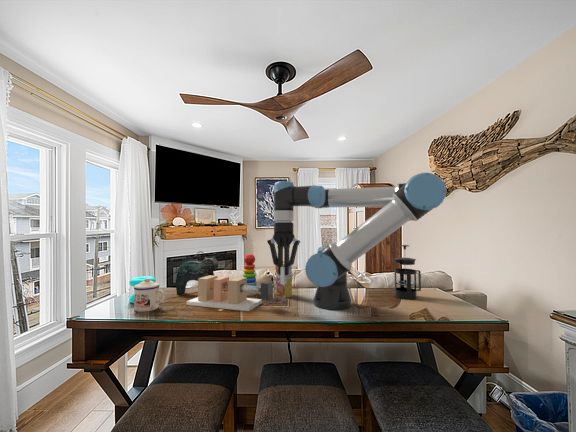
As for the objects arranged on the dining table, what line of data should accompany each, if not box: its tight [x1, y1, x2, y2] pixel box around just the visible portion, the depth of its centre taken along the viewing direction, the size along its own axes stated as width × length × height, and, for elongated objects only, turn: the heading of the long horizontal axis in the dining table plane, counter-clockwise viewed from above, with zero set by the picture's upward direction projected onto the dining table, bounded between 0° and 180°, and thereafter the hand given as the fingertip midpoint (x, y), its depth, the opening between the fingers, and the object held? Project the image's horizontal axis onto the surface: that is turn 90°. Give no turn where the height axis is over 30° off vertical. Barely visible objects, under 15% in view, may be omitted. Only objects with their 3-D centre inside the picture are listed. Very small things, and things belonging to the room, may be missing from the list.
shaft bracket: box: [186, 275, 263, 312], centre depth 120 cm, size 28×12×10 cm, turn 71°
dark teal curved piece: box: [175, 251, 219, 295], centre depth 138 cm, size 20×6×20 cm, turn 81°
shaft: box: [222, 280, 274, 300], centre depth 117 cm, size 21×5×6 cm, turn 71°
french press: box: [394, 244, 422, 301], centre depth 130 cm, size 12×9×23 cm
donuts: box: [128, 275, 156, 304], centre depth 126 cm, size 10×10×10 cm
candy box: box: [274, 260, 293, 299], centre depth 134 cm, size 9×4×15 cm, turn 29°
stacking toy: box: [242, 253, 259, 297], centre depth 137 cm, size 8×8×19 cm
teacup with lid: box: [133, 278, 166, 313], centre depth 114 cm, size 12×9×12 cm
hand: (283, 283), depth 112 cm, fingers closed
